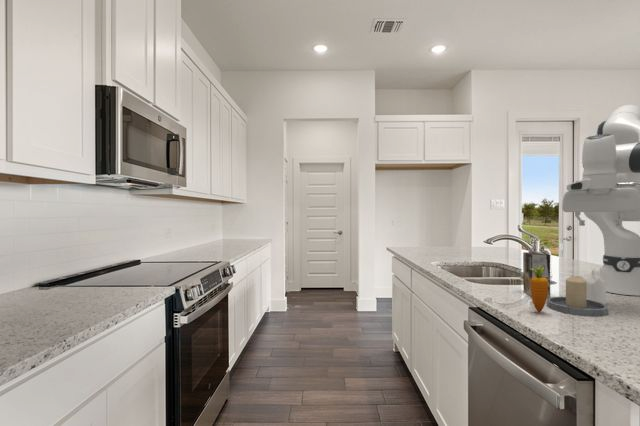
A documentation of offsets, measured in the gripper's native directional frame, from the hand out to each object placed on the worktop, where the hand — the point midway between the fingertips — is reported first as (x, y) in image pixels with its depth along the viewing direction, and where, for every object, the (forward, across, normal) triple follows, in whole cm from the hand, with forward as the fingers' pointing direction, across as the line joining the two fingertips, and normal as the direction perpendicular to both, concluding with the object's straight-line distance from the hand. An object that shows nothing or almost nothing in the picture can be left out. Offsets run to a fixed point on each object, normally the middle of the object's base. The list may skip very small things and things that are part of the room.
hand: (600, 225), depth 114 cm
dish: (+27, +6, +6) cm, 29 cm away
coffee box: (+28, +20, -8) cm, 35 cm away
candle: (+27, +6, +6) cm, 28 cm away
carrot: (+27, +15, +18) cm, 36 cm away
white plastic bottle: (+28, +2, -8) cm, 29 cm away
